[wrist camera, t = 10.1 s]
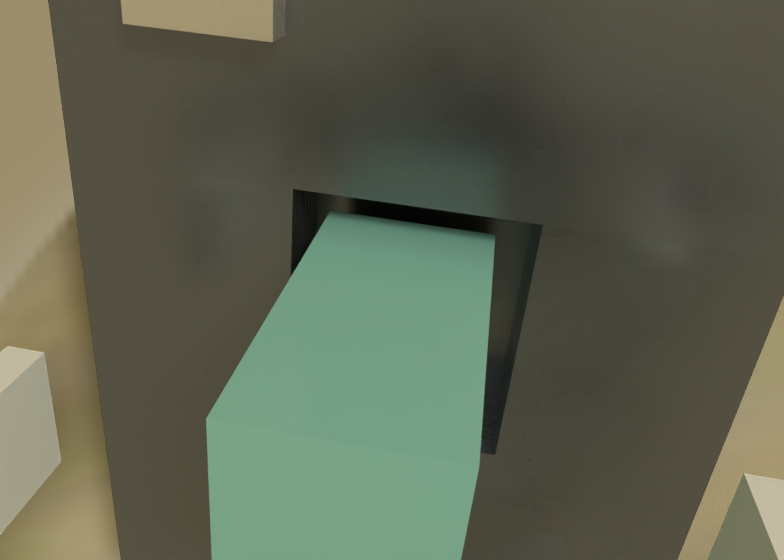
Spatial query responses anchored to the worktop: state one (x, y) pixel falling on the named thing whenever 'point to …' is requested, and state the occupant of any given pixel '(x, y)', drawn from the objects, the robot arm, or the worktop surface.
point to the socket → (444, 209)
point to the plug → (358, 401)
